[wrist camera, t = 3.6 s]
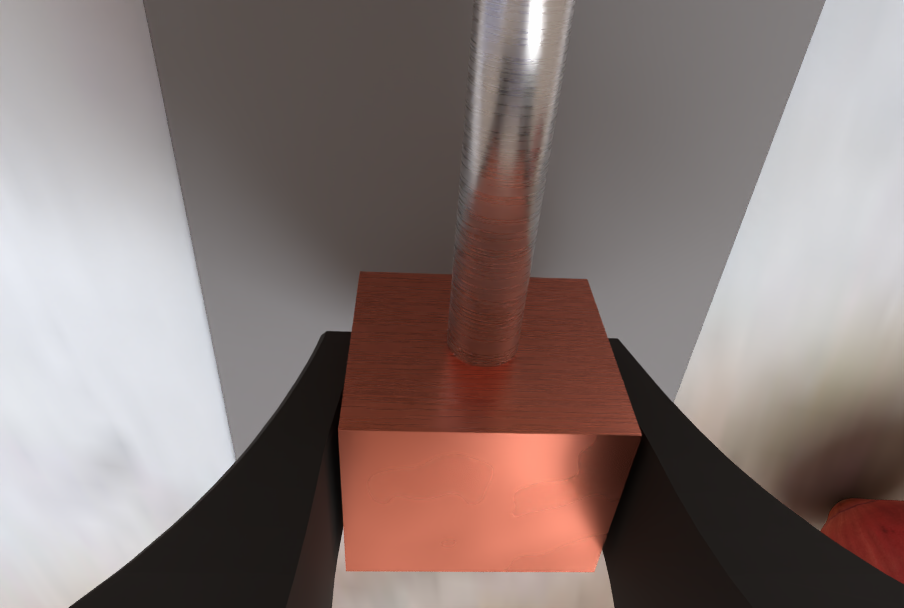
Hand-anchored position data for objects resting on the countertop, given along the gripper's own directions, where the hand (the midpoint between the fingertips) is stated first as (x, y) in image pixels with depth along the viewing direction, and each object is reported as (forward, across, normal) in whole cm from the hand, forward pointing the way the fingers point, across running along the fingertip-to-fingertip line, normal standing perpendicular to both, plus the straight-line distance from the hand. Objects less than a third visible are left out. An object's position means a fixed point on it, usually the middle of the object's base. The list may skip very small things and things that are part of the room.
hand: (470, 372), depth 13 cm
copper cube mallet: (+1, 0, -6) cm, 6 cm away
